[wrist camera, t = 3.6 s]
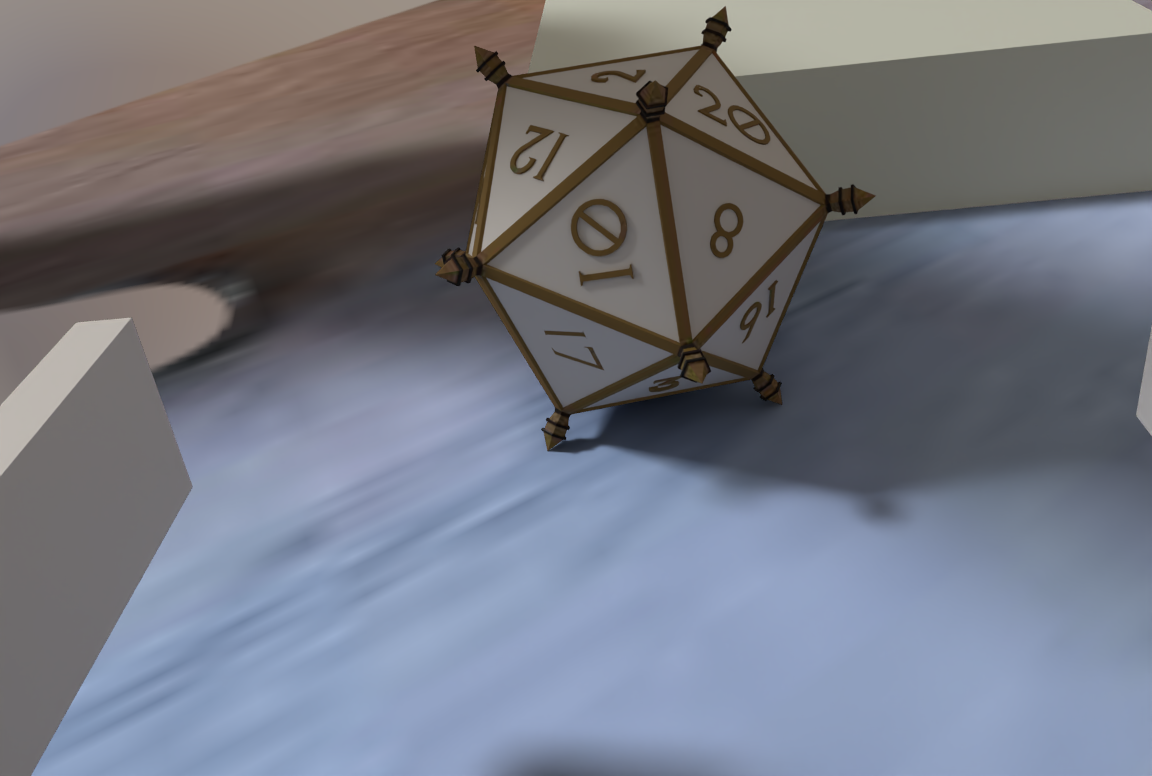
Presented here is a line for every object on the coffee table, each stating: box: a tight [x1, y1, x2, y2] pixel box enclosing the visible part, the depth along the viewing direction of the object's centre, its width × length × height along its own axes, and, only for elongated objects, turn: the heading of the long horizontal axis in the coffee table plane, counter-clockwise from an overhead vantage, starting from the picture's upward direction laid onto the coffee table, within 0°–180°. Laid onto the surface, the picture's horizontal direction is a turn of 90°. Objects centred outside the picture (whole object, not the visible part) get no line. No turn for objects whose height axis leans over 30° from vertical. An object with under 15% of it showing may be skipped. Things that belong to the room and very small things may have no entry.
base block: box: [528, 0, 1152, 221], centre depth 39 cm, size 18×18×5 cm
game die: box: [435, 6, 876, 451], centre depth 23 cm, size 9×8×10 cm
